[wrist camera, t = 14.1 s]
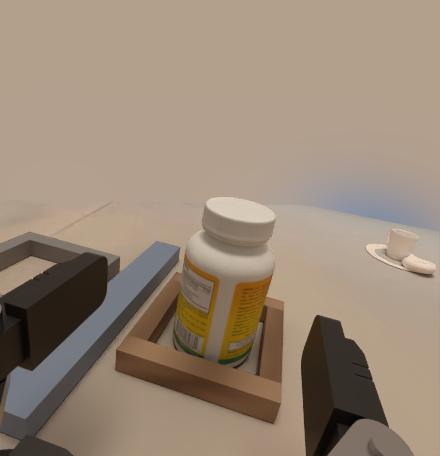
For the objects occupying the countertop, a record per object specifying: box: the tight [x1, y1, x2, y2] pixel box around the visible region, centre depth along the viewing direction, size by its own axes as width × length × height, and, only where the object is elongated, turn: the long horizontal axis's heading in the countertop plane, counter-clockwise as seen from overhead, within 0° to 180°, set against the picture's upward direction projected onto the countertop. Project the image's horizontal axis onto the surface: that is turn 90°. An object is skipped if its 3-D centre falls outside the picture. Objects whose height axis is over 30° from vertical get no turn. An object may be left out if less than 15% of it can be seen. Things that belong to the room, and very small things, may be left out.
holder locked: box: [115, 272, 284, 424], centre depth 19 cm, size 9×9×2 cm
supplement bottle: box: [173, 197, 276, 368], centre depth 18 cm, size 5×5×10 cm
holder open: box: [0, 232, 120, 297], centre depth 21 cm, size 9×9×2 cm
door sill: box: [0, 241, 180, 440], centre depth 20 cm, size 18×2×2 cm, turn 167°
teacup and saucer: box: [366, 229, 437, 274], centre depth 39 cm, size 9×8×4 cm
